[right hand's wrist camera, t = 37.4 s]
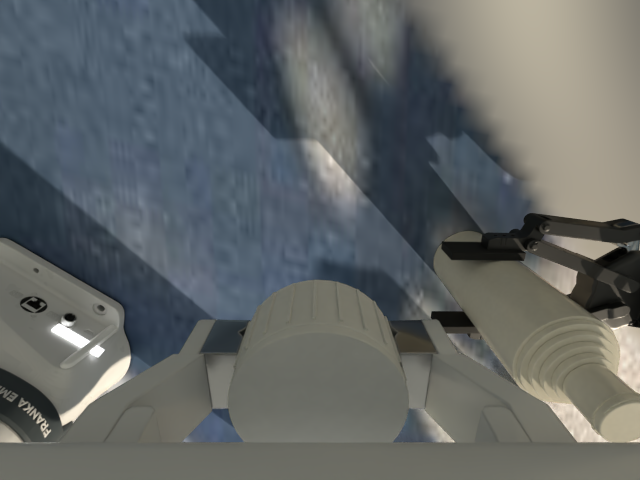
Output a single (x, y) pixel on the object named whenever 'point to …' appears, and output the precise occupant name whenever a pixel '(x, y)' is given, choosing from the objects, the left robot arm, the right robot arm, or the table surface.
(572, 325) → the bottle
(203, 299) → the table surface
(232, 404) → the cap
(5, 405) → the right robot arm
